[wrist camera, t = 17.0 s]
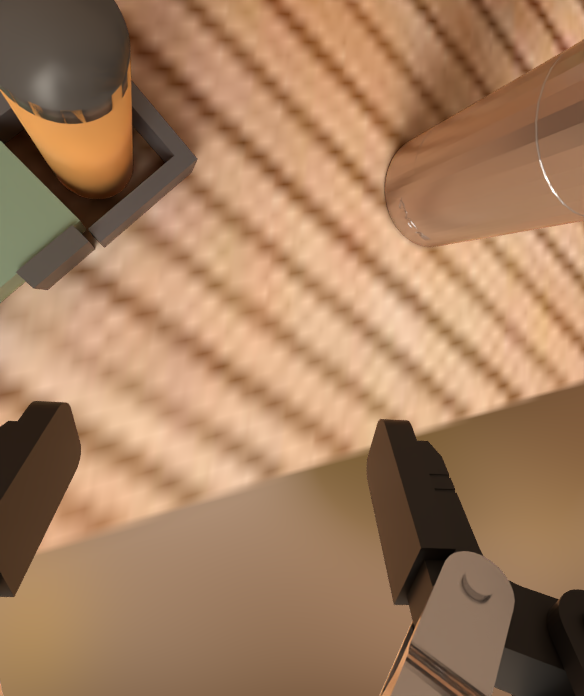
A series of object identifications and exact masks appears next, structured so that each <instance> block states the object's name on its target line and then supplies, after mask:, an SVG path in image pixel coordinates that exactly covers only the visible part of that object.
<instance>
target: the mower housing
mask: <svg viewBox="0 0 584 696" xmlns="http://www.w3.org/2000/svg"><path fill="white" fill-rule="evenodd" d="M131 99H132V125H133V126H134V128H135V129H136V130H137V131H138V132H139V133H140V134H141V136H142V137H143V138H144V139H145V140H146V141H147V142H148V144H149V145H150V146H151V147H152V148H153V149H154V151H155V152H156V153H157V154H158V155H159V156H160V157H161V159H162V160H163V161H164V162H165V164H164V165H163V166H161V167H160V168H159V169H158V170H157V171H155V172H154V173H153V174H152V175H151V176H150V177H148V178H147V179H146V180H145V181H144V182H142V183H141V184H140V185H139V186H138V187H137V188H135V189H134V190H133V191H132V192H131V193H129V194H128V195H127V196H126V197H125V198H124V199H122V200H121V201H120V202H119V203H118V204H116V205H115V206H114V207H113V208H112V209H111V210H109V211H108V212H107V213H106V214H105V215H104V216H102V217H101V218H100V219H99V220H98V221H96V222H95V223H94V224H93V225H92V226H91V227H89V228H88V230H89V231H90V233H91V234H92V236H93V237H94V238H95V239H96V240H97V241H98V242H99V243H100V244H101V245H102V246H103V247H104V248H105V247H106V246H107V245H108V244H109V243H110V242H111V241H113V240H114V239H115V238H116V237H117V236H118V235H120V234H121V233H122V232H123V231H124V230H125V229H127V228H128V227H129V226H130V225H131V224H132V223H133V222H135V221H136V220H137V219H138V218H139V217H140V216H142V215H143V214H144V213H145V212H146V211H147V210H149V209H150V208H151V207H152V206H153V205H154V204H155V203H157V202H158V201H159V200H160V199H161V198H162V197H164V196H165V195H166V194H167V193H168V192H169V191H171V190H172V189H173V188H174V187H175V186H176V185H177V184H179V183H180V182H181V181H182V180H183V179H184V178H186V177H187V176H188V175H189V174H190V173H191V172H192V170H193V168H194V166H195V163H196V161H197V158H196V157H195V155H194V154H193V153H192V152H191V151H190V149H189V148H188V147H187V146H186V145H185V143H184V142H183V141H182V140H181V139H180V138H179V136H178V135H177V134H176V133H175V132H174V130H173V129H172V128H171V127H170V126H169V124H168V123H167V122H166V121H165V120H164V118H163V117H162V116H161V115H160V114H159V112H158V111H157V110H156V109H155V108H154V107H153V105H152V104H151V103H150V102H149V101H148V99H147V98H146V97H145V96H144V95H143V93H142V92H141V91H140V90H139V89H138V87H137V86H136V85H135V84H134V83H133V81H132V80H131ZM23 129H25V128H24V126H23V125H22V123H21V122H20V120H19V119H18V117H17V116H16V114H15V113H14V111H13V110H12V108H11V107H10V105H9V103H8V102H7V100H6V99H5V97H4V96H3V94H2V93H1V91H0V303H1V302H2V301H3V300H4V299H6V298H7V297H8V296H9V295H10V294H12V293H13V292H14V291H15V290H16V289H17V288H19V287H20V286H21V285H22V284H23V283H25V282H27V283H28V284H29V285H30V286H31V287H33V288H34V289H43V290H48V289H49V288H50V287H52V286H53V285H54V284H55V283H56V282H57V281H59V280H60V279H61V278H62V277H63V276H64V275H66V274H67V273H68V272H69V271H70V270H71V269H73V268H74V267H75V266H76V265H77V264H78V263H80V262H81V261H82V260H83V259H84V258H85V257H87V256H88V255H89V254H90V253H91V252H92V251H93V250H95V248H94V247H93V246H92V245H91V243H90V242H89V241H88V240H87V239H86V238H85V237H84V236H83V235H82V233H84V232H85V231H86V228H85V227H84V225H83V224H82V223H81V221H80V220H79V219H78V218H77V217H76V216H75V215H74V214H73V213H72V212H71V211H70V210H69V209H68V208H67V207H66V206H65V205H64V204H63V203H62V202H61V201H60V200H59V199H58V198H57V197H56V196H55V195H54V194H53V193H52V192H51V191H50V190H49V189H48V188H47V187H46V186H45V185H44V184H43V183H42V182H41V181H40V180H39V179H38V178H37V177H36V176H35V175H34V174H33V173H32V172H31V171H30V170H29V169H28V168H27V167H26V166H25V165H24V164H23V163H22V162H21V161H20V160H19V159H18V158H17V157H16V156H15V155H14V154H13V153H12V152H11V151H10V150H9V149H8V148H7V147H6V146H5V145H4V144H5V143H6V142H8V141H9V140H10V139H12V138H13V137H14V136H15V135H17V134H18V133H19V132H21V131H22V130H23Z"/></svg>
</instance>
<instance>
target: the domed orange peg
mask: <svg viewBox="0 0 584 696" xmlns="http://www.w3.org/2000/svg"><path fill="white" fill-rule="evenodd" d="M0 91H1V93H2V94H3V96H4V97H5V99H6V100H7V102H8V103H9V105H10V107H11V108H12V110H13V111H14V113H15V114H16V116H17V117H18V119H19V120H20V122H21V123H22V125H23V126H24V128H25V130H26V131H27V133H28V134H29V136H30V137H31V139H32V140H33V142H34V143H35V145H36V146H37V148H38V149H39V151H40V153H41V154H42V156H43V157H44V159H45V160H46V162H47V163H48V165H49V166H50V168H51V169H52V171H53V172H54V174H55V176H56V177H57V178H58V180H59V181H60V182H61V183H62V184H63V185H64V186H65V187H66V188H67V189H69V190H70V191H72V192H73V193H75V194H77V195H79V196H82V197H85V198H90V199H105V198H109V197H112V196H114V195H116V194H118V193H119V192H121V191H122V190H123V189H124V188H125V187H126V186H127V184H128V182H129V181H130V178H131V176H132V172H133V141H132V99H131V58H130V40H129V33H128V30H127V26H126V23H125V21H124V18H123V16H122V13H121V11H120V10H119V8H118V6H117V4H116V2H115V1H114V0H0Z"/></svg>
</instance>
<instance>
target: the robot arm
mask: <svg viewBox="0 0 584 696" xmlns="http://www.w3.org/2000/svg"><path fill="white" fill-rule="evenodd" d="M385 196H386V203H387V207H388V210H389V213H390V216H391V218H392V220H393V222H394V224H395V225H396V227H397V228H398V230H399V231H400V232H401V233H402V234H403V235H404V236H405V237H406V238H408V239H409V240H410V241H412V242H414V243H416V244H418V245H421V246H427V247H435V246H442V245H448V244H454V243H459V242H465V241H472V240H478V239H483V238H489V237H495V236H500V235H506V234H512V233H517V232H523V231H529V230H534V229H540V228H546V227H551V226H557V225H563V224H568V223H574V222H580V221H584V40H582V41H580V42H578V43H577V44H575V45H574V46H572V47H570V48H569V49H567V50H565V51H564V52H562V53H560V54H558V55H557V56H555V57H553V58H552V59H550V60H548V61H546V62H545V63H543V64H541V65H539V66H538V67H536V68H534V69H533V70H531V71H529V72H527V73H526V74H524V75H522V76H521V77H519V78H517V79H515V80H514V81H512V82H510V83H508V84H507V85H505V86H503V87H502V88H500V89H498V90H496V91H495V92H493V93H491V94H490V95H488V96H486V97H484V98H483V99H481V100H479V101H477V102H476V103H474V104H472V105H471V106H469V107H467V108H465V109H464V110H462V111H460V112H458V113H457V114H455V115H453V116H452V117H450V118H448V119H446V120H445V121H443V122H441V123H439V124H437V125H436V126H434V127H432V128H431V129H429V130H427V131H426V132H424V133H422V134H420V135H419V136H417V137H415V138H414V139H412V140H410V141H409V142H407V143H405V144H404V145H403V146H402V147H401V148H400V149H399V150H398V151H397V153H396V154H395V156H394V157H393V159H392V161H391V163H390V166H389V168H388V171H387V176H386V181H385ZM80 455H81V444H80V440H79V436H78V433H77V429H76V425H75V422H74V418H73V414H72V411H71V407H70V405H69V404H68V403H64V402H44V401H34V402H32V403H31V404H30V405H29V406H28V408H27V409H26V410H25V412H24V413H23V415H22V416H21V417H20V419H19V420H18V421H8V422H6V423H5V424H4V425H2V426H1V427H0V597H14V596H15V594H16V592H17V590H18V588H19V586H20V584H21V582H22V580H23V578H24V576H25V574H26V572H27V570H28V568H29V566H30V564H31V562H32V560H33V558H34V556H35V554H36V551H37V549H38V547H39V545H40V543H41V541H42V539H43V537H44V535H45V533H46V531H47V529H48V527H49V525H50V523H51V521H52V519H53V517H54V515H55V513H56V510H57V508H58V506H59V504H60V502H61V500H62V498H63V496H64V494H65V492H66V490H67V488H68V486H69V484H70V482H71V480H72V478H73V476H74V474H75V472H76V469H77V467H78V464H79V461H80ZM367 480H368V484H369V489H370V494H371V499H372V504H373V508H374V513H375V517H376V522H377V527H378V531H379V536H380V541H381V546H382V550H383V555H384V559H385V565H386V569H387V573H388V579H389V583H390V588H391V593H392V597H393V602H394V604H395V605H409V607H410V611H411V615H412V620H413V621H412V623H411V624H410V627H409V629H408V631H407V634H406V636H405V638H404V640H403V643H402V645H401V647H400V649H399V652H398V654H397V656H396V659H395V661H394V663H393V665H392V668H391V670H390V673H389V675H388V677H387V679H386V681H385V684H384V686H383V688H382V690H381V693H380V695H379V696H492V693H493V689H494V687H496V688H498V689H500V690H503V691H506V692H508V693H510V694H511V695H512V696H584V590H570V591H568V592H566V593H564V594H563V596H562V597H561V598H560V599H556V598H553V597H550V596H547V595H544V594H542V593H538V592H536V591H533V590H530V589H527V588H524V587H522V586H519V585H517V584H515V583H513V582H511V581H509V580H508V579H507V577H506V576H505V574H504V573H503V572H502V571H501V570H500V568H499V567H497V566H496V565H495V564H494V563H493V562H492V561H490V560H489V559H487V558H486V557H484V556H483V554H482V553H481V550H480V549H479V546H478V544H477V541H476V539H475V536H474V534H473V532H472V529H471V527H470V524H469V522H468V519H467V517H466V514H465V512H464V510H463V507H462V505H461V502H460V500H459V497H458V495H457V493H455V488H454V485H453V483H452V481H451V478H449V473H448V471H447V468H446V466H445V464H444V461H443V459H442V457H441V455H440V454H439V453H438V452H437V451H436V450H435V449H434V448H433V446H432V445H431V444H430V443H429V442H428V441H417V439H416V437H415V434H414V431H413V428H412V426H411V424H410V422H409V421H407V420H387V419H380V420H379V421H378V424H377V427H376V430H375V434H374V437H373V441H372V444H371V448H370V451H369V455H368V459H367ZM0 696H3V693H2V687H1V683H0Z"/></svg>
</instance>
